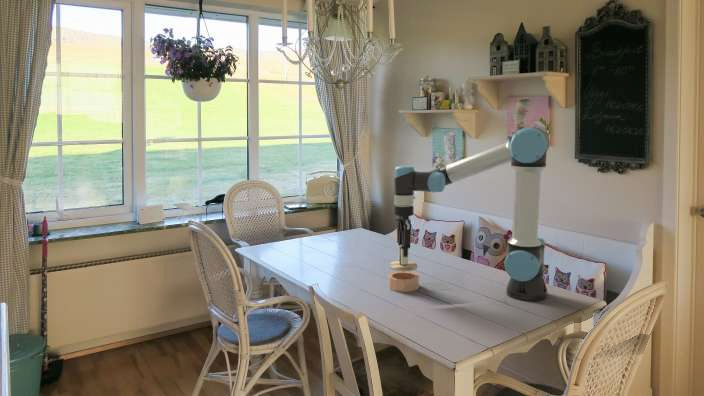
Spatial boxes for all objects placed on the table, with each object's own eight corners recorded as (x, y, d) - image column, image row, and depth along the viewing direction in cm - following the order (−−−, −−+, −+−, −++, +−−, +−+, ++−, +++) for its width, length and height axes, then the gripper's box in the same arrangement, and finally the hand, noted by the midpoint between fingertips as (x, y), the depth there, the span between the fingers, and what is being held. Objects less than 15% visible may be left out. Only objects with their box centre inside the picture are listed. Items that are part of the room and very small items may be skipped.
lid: (420, 270, 207) (421, 247, 206) (393, 272, 205) (393, 249, 204) (412, 263, 218) (412, 241, 217) (386, 264, 216) (386, 242, 215)
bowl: (422, 292, 208) (422, 279, 207) (392, 294, 206) (393, 281, 205) (413, 283, 220) (413, 270, 219) (385, 285, 218) (385, 272, 217)
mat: (452, 291, 209) (452, 289, 209) (428, 293, 208) (428, 290, 208) (443, 283, 219) (443, 281, 219) (420, 285, 217) (420, 283, 217)
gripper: (419, 208, 201) (418, 267, 204) (407, 201, 216) (406, 257, 220) (400, 208, 199) (399, 269, 203) (389, 202, 215) (389, 258, 219)
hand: (403, 262), depth 211 cm, fingers closed on lid, 3 cm apart
